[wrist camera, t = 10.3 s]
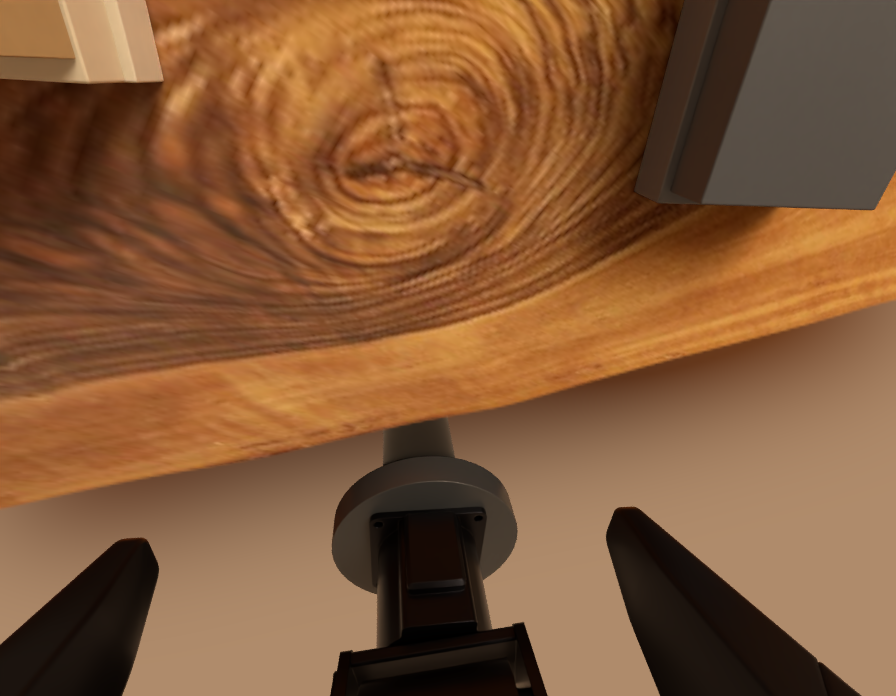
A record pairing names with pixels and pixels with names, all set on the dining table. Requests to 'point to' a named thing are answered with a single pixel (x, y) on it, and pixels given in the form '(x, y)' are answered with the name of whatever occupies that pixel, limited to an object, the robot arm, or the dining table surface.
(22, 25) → the beige rectangular block
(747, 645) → the robot arm
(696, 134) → the grey book stack
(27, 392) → the dining table surface
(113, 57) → the cream book stack
